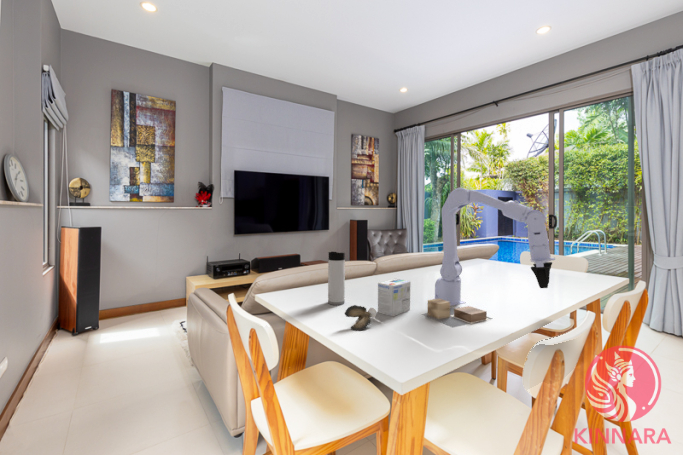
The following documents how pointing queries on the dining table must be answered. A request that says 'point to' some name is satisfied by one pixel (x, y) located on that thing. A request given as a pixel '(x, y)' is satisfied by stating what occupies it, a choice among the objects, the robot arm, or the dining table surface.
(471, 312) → the walnut slab
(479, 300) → the dining table surface
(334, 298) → the travel mug
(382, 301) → the light bulb box
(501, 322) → the dining table surface
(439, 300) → the oak cube
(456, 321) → the mat
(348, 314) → the eagle figurine
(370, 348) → the dining table surface
